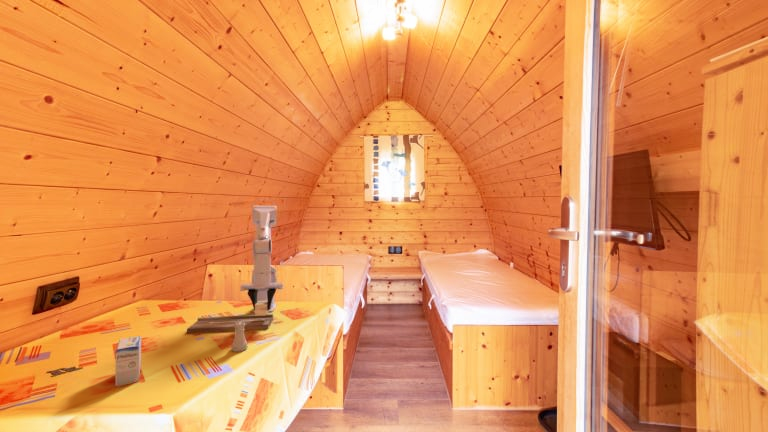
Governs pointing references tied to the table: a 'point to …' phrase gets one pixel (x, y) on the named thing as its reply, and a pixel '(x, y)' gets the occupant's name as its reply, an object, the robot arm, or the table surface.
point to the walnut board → (230, 323)
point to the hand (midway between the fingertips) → (262, 309)
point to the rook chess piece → (239, 337)
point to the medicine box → (128, 361)
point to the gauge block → (261, 308)
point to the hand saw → (57, 372)
